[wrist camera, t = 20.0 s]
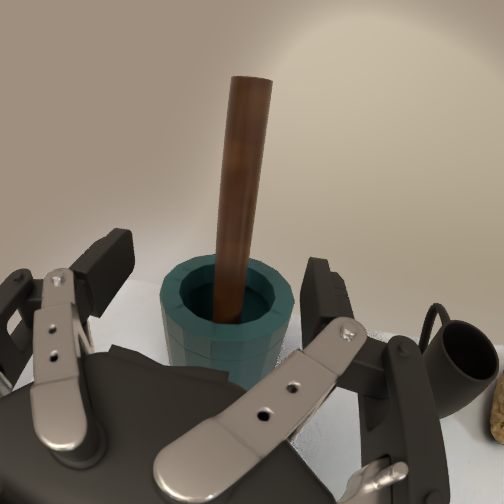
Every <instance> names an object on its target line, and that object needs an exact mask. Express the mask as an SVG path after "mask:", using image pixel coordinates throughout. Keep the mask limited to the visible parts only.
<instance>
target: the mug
mask: <svg viewBox="0 0 504 504" xmlns="http://www.w3.org/2000/svg"><path fill="white" fill-rule="evenodd" d="M437 313H439V316H440V318H441V322H442V326H441V328H440V329H439V331H438V332H437V334H436V335H435V337H434V338H433V339H432V341H431V342H430V344H429V345H428V343H429V339H430V334H431V331H432V327H433V324H434V321H435V317H436V315H437ZM418 347H419V349H420V351H421V354H422V357H423V361H424V364H425V367H426V370H427V374H428V377H429V381H430V384H431V388H432V392H433V396H434V399H435V404H436V408H437V412H438V416H439V419H442V418H444V417H447V416H449V415H451V414H453V413H455V412H457V411H459V410H460V409H462V408H463V407H465V406H466V405H468V404H469V403H470V402H472V401H473V400H474V399H475V398H476V397H477V396H478V395H479V394H481V393H482V392H483V391H484V390H485V389H486V388H487V387H488V386H489V385H490V383H491V382H492V381H493V380H494V379H495V378H496V376H497V374H498V371H499V359H498V355H497V352H496V350H495V348H494V346H493V344H492V343H491V341H490V340H489V339H488V338H487V336H486V335H485V334H483V333H482V332H481V331H480V330H479V329H477V328H476V327H475V326H473V325H471V324H469V323H467V322H464V321H459V320H450V318H449V315H448V313H447V311H446V310H445V308H444V307H443V306H442V305H441V304H439V303H434V304H433V305H431V307H430V309H429V310H428V312H427V315H426V317H425V321H424V324H423V329H422V333H421V337H420V341H419V345H418Z"/></svg>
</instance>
